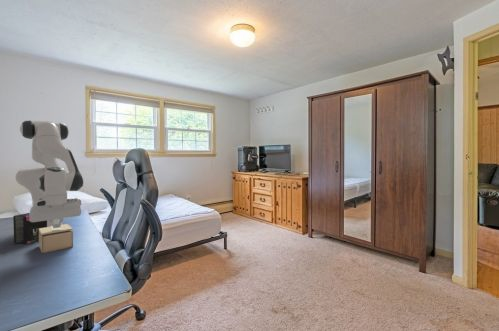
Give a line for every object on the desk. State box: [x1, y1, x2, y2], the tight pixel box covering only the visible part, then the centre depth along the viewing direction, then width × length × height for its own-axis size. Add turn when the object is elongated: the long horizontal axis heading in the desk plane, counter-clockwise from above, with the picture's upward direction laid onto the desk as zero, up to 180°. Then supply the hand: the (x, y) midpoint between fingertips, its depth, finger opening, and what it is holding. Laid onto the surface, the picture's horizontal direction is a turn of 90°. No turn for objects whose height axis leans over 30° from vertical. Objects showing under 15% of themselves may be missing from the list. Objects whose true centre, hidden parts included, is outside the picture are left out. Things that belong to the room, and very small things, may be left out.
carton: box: [38, 230, 74, 254], centre depth 123 cm, size 14×12×8 cm
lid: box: [39, 223, 74, 235], centre depth 123 cm, size 14×12×1 cm
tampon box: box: [13, 212, 47, 245], centre depth 133 cm, size 11×9×15 cm
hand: (56, 227), depth 121 cm, fingers closed
